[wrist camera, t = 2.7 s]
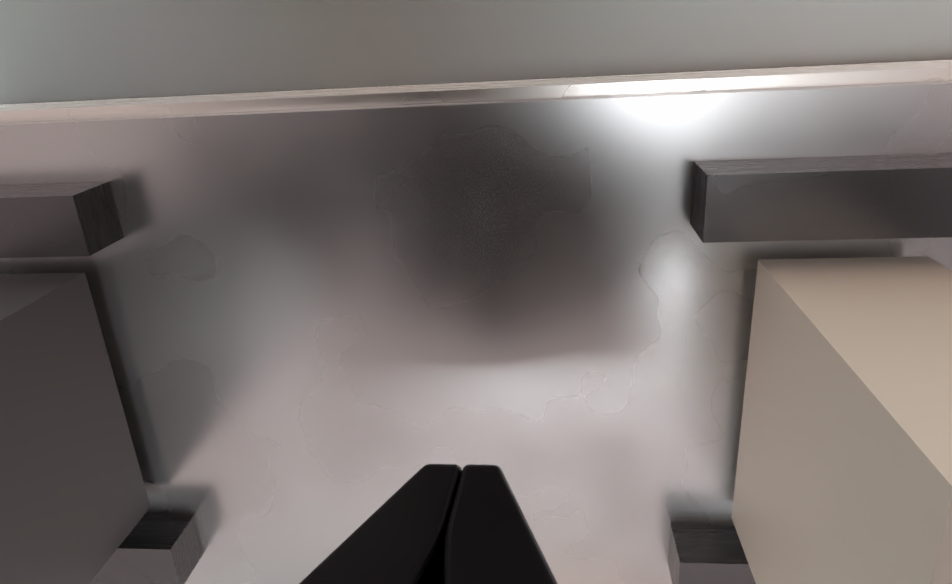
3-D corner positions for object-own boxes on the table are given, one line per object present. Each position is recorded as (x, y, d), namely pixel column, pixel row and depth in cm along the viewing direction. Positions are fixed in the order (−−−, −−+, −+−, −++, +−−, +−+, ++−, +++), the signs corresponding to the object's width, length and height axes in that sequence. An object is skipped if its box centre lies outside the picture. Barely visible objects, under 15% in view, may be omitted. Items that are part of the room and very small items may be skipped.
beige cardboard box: (929, 256, 8) (1297, 493, 4) (875, 520, 10) (1112, 886, 6) (758, 259, 9) (953, 488, 5) (731, 517, 10) (860, 869, 6)
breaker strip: (1251, 40, 9) (1526, 51, 7) (1086, 528, 12) (1229, 665, 10) (-8, 100, 11) (-173, 128, 9) (116, 509, 14) (21, 620, 12)
